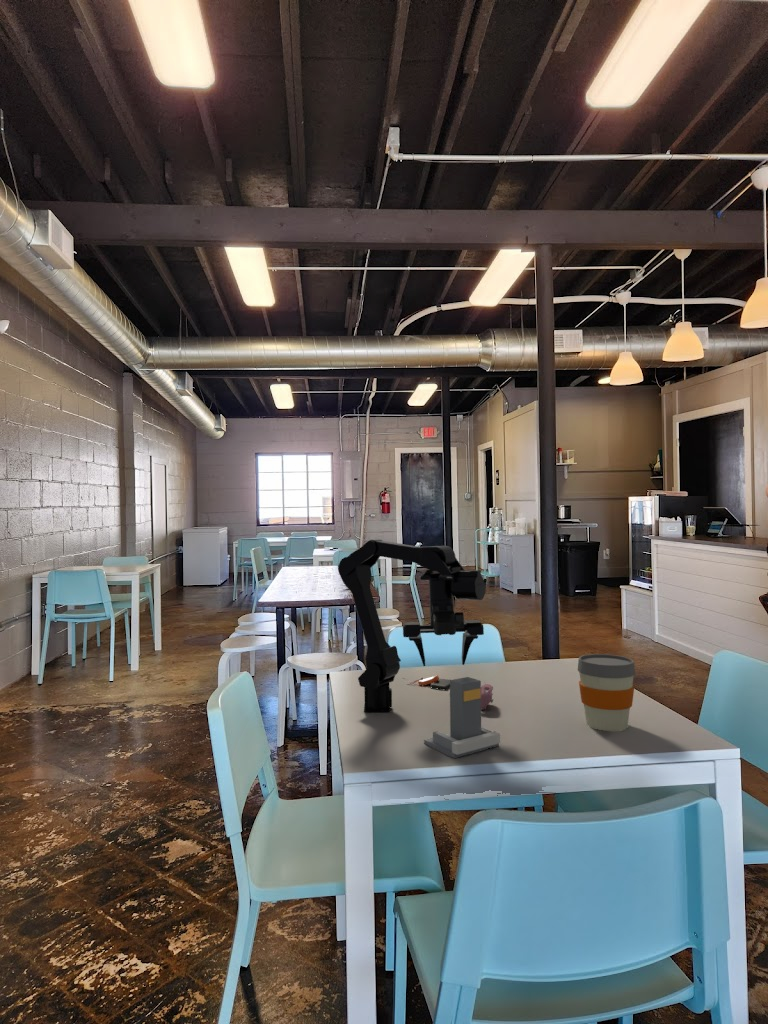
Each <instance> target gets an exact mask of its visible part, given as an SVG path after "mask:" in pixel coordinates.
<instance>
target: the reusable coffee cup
mask: <svg viewBox="0 0 768 1024" xmlns="http://www.w3.org/2000/svg"><path fill="white" fill-rule="evenodd" d="M634 661H635V660H633V659H632V658H629V657H626V656H622V655H617V654H616V655H615V654H606V653H605V654H604V653H593V654H583V655H580V656H578V663H577V672H579V679H580V680H579V681H578V685H579V693H580V699H581V703H582V704H583V707H584V709H583V710H584V715H585V722H586V725H587V727H589V728H592V729H594V730H597V729H598V730H599V731H602V730H603V731H604V732H621V731H620V730H623V731H625V730H627V729H628V726H629V718H630V712H631V711H630V709H631V708H632V707H633V700H634V693H635V685H634V676H635V675H636V668H635V662H634ZM626 728H627V729H626ZM624 729H625V730H624Z"/></svg>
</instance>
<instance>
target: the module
mask: <svg viewBox="0 0 768 1024" xmlns="http://www.w3.org/2000/svg"><path fill="white" fill-rule="evenodd" d="M449 680H450V688H449V715H450V716H449V717H450V719H449V721H450V722H449V725H450V726H449V727H450V728H449V730H450V737H452V738H454V739H456V740H463V739H467V738H471V737H475V736H479V735H481V727H482V710H481V687H482V681H481V680H479V679H476V678H474V677H469V676H465V677H460V678H454V679H449Z"/></svg>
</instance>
